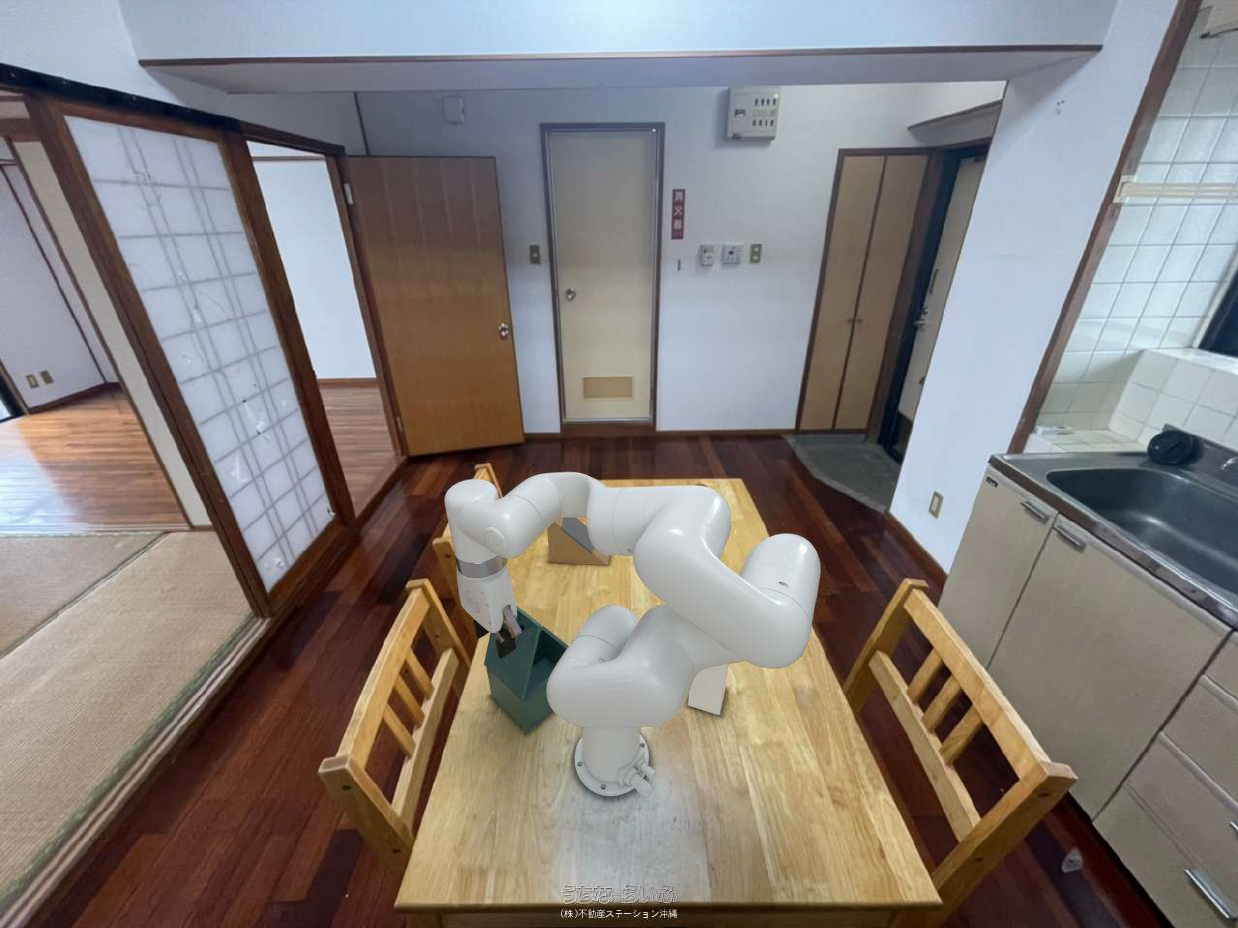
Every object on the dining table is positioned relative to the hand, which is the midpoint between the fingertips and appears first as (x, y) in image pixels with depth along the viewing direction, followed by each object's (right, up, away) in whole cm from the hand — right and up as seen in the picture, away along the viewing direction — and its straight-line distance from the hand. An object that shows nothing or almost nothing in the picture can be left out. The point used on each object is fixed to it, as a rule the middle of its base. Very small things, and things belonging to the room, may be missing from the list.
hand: (495, 642), depth 87 cm
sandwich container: (+11, +6, +51) cm, 52 cm away
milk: (+38, -15, +11) cm, 42 cm away
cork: (+44, +14, +65) cm, 80 cm away
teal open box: (+5, -14, +13) cm, 20 cm away
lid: (+2, -2, +3) cm, 4 cm away
